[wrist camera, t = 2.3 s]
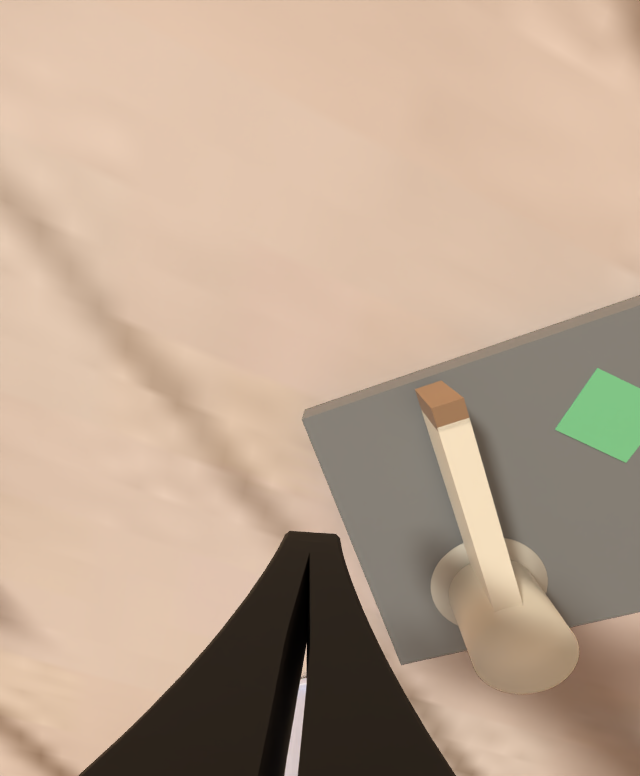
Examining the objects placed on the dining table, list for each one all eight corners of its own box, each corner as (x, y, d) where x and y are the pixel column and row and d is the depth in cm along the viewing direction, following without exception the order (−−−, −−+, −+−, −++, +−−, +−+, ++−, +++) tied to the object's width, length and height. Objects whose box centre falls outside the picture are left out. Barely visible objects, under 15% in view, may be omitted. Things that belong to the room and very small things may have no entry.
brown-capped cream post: (544, 615, 18) (588, 682, 15) (460, 634, 18) (485, 702, 15) (477, 368, 15) (514, 385, 12) (380, 400, 15) (390, 425, 12)
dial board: (752, 557, 18) (789, 580, 17) (396, 640, 21) (401, 666, 20) (724, 266, 15) (768, 262, 13) (304, 409, 18) (301, 419, 16)
